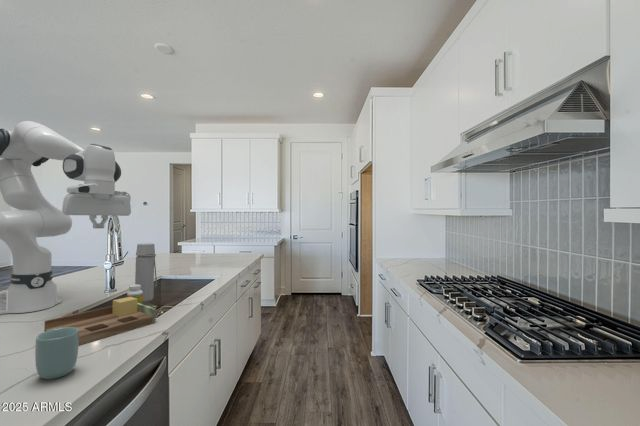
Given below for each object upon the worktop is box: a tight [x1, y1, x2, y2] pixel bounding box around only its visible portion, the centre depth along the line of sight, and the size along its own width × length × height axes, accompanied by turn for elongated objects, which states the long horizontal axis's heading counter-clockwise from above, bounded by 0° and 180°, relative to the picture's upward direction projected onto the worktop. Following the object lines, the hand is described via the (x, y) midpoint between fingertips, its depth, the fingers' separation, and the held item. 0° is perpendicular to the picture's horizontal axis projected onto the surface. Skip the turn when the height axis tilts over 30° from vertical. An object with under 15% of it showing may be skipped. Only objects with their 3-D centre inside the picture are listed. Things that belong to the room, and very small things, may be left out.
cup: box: [34, 327, 80, 380], centre depth 72 cm, size 8×8×10 cm
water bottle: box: [134, 242, 158, 303], centre depth 134 cm, size 9×8×25 cm
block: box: [112, 296, 138, 317], centre depth 108 cm, size 5×6×5 cm
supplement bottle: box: [126, 284, 143, 304], centre depth 120 cm, size 5×5×10 cm
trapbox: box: [43, 303, 157, 347], centre depth 100 cm, size 16×26×6 cm, turn 148°
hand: (98, 228), depth 107 cm, fingers closed
